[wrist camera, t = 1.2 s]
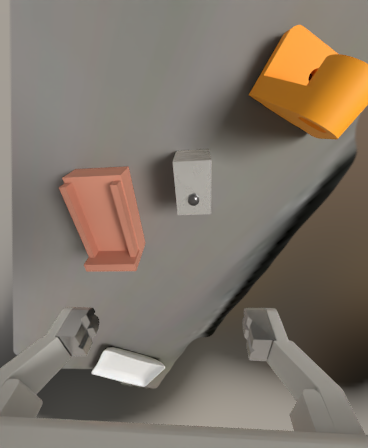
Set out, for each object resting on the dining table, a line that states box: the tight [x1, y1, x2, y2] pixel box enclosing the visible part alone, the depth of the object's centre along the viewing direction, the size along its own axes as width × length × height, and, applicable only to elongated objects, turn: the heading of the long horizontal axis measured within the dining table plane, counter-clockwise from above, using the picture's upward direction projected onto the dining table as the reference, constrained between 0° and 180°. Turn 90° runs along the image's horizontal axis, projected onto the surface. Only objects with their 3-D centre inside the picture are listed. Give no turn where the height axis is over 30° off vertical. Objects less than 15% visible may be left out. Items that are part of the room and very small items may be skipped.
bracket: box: [249, 25, 368, 139], centre depth 21 cm, size 11×7×12 cm, turn 64°
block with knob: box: [173, 149, 211, 215], centre depth 30 cm, size 8×5×6 cm, turn 4°
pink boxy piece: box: [59, 167, 145, 271], centre depth 34 cm, size 16×9×8 cm, turn 4°
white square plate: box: [92, 347, 165, 386], centre depth 71 cm, size 21×21×3 cm
